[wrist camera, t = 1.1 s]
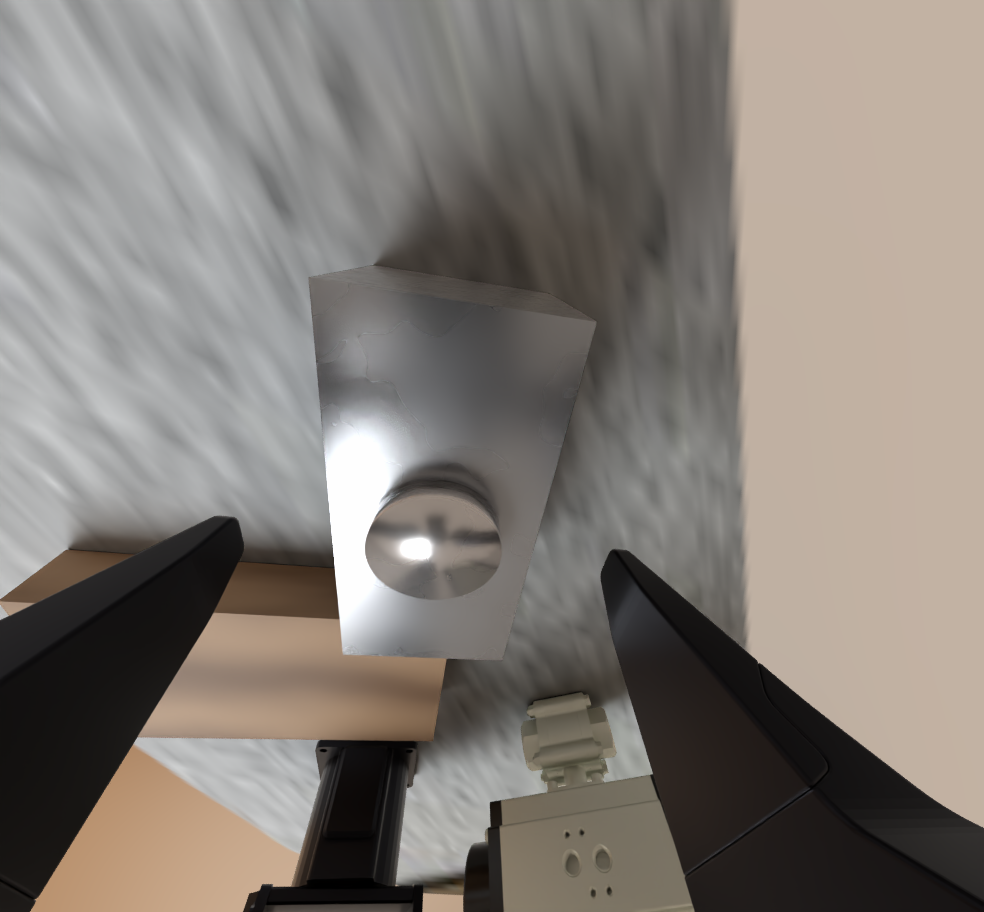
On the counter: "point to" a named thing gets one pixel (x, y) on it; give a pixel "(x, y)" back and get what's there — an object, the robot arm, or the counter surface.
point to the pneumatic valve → (576, 829)
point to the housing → (438, 450)
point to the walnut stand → (272, 662)
